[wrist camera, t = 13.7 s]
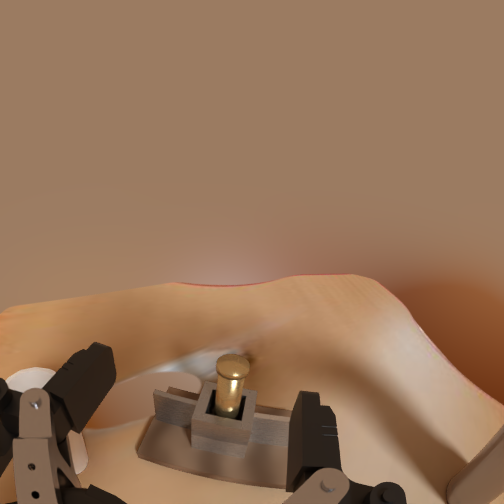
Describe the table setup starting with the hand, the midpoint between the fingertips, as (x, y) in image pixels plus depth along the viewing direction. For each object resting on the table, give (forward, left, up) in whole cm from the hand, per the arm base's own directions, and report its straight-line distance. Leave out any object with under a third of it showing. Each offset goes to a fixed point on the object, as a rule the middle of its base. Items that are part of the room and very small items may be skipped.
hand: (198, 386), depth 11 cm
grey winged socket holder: (0, -16, -26) cm, 31 cm away
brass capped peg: (0, -16, -26) cm, 31 cm away
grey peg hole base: (0, -16, -28) cm, 32 cm away
